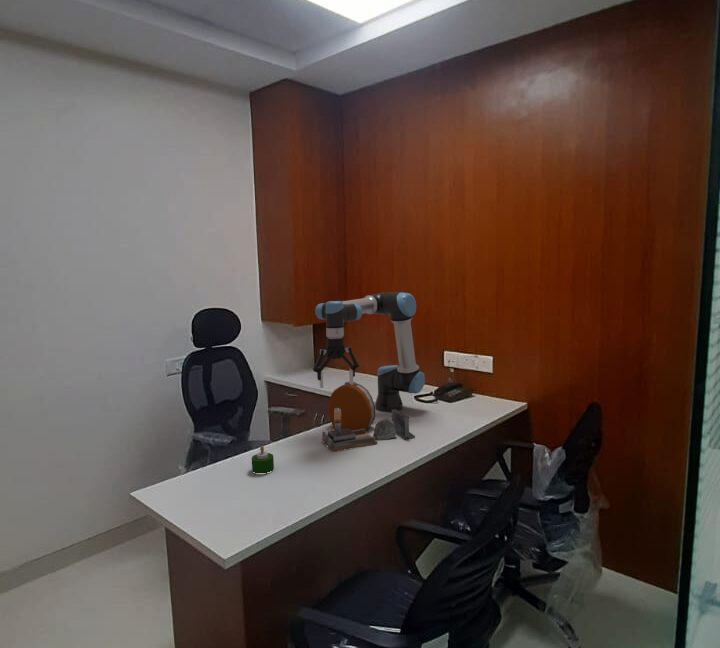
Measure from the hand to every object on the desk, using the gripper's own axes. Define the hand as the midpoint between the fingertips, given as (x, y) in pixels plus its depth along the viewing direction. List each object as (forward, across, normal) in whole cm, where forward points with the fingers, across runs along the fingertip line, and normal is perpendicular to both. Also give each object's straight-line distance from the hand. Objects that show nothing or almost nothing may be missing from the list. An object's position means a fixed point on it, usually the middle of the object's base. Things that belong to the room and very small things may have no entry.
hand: (336, 385), depth 211 cm
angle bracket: (+26, +32, 0) cm, 41 cm away
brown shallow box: (+26, +5, 0) cm, 27 cm away
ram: (+25, +2, 0) cm, 25 cm away
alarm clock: (+27, +14, +19) cm, 35 cm away
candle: (+27, -35, -14) cm, 47 cm away
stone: (+27, +23, 0) cm, 35 cm away
